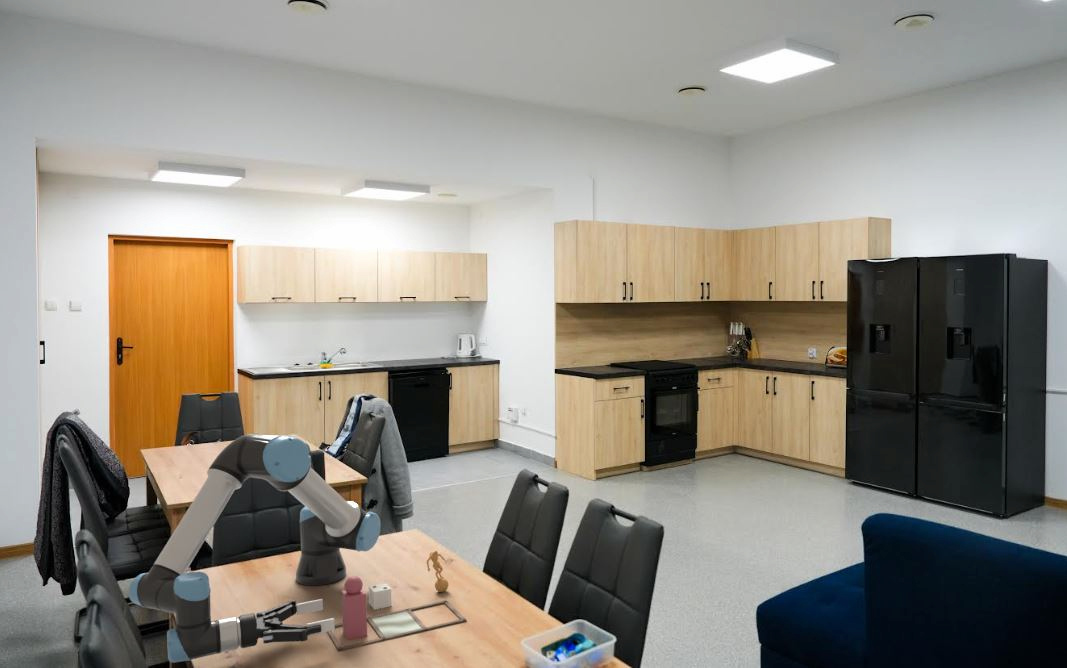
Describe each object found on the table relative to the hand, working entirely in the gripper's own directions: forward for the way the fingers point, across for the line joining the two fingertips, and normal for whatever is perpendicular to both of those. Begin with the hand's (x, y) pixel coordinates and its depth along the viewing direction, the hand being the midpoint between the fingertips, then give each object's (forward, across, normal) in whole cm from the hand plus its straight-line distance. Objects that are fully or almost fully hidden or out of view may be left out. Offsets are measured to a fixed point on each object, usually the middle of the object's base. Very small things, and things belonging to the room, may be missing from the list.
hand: (328, 613), depth 188 cm
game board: (+18, 0, -7) cm, 19 cm away
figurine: (+36, -16, -7) cm, 40 cm away
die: (+18, -15, -7) cm, 24 cm away
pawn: (+7, 0, -7) cm, 10 cm away
